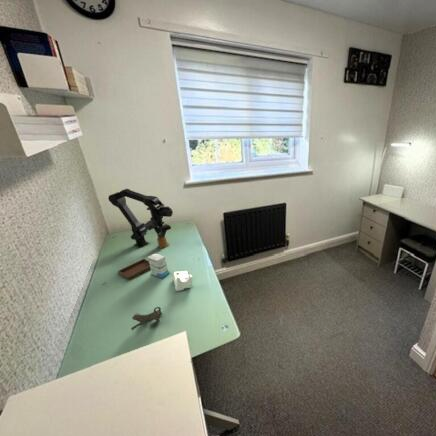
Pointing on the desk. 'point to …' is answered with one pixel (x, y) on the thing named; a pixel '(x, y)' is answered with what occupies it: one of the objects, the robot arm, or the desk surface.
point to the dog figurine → (147, 318)
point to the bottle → (162, 242)
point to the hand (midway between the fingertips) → (161, 236)
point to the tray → (135, 269)
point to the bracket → (182, 280)
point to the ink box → (158, 265)
